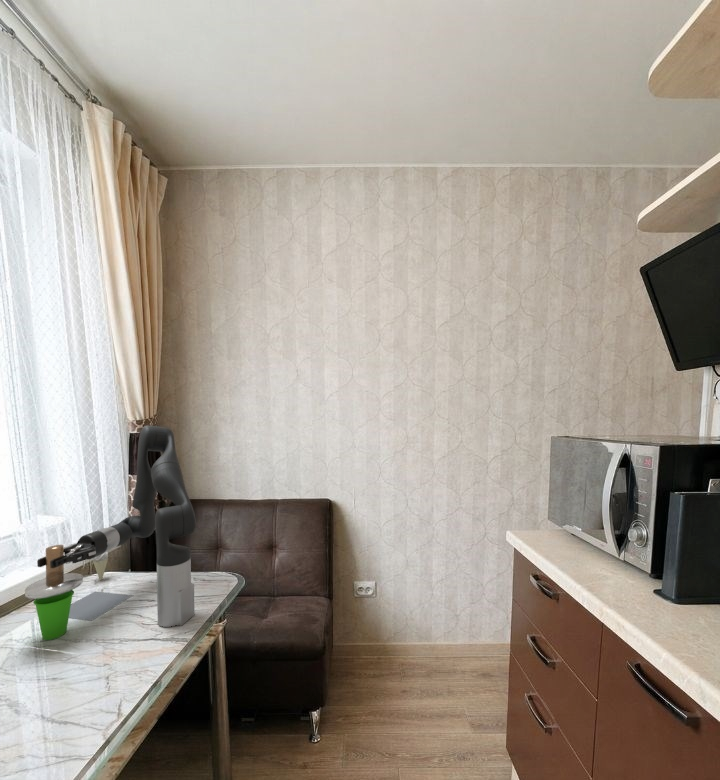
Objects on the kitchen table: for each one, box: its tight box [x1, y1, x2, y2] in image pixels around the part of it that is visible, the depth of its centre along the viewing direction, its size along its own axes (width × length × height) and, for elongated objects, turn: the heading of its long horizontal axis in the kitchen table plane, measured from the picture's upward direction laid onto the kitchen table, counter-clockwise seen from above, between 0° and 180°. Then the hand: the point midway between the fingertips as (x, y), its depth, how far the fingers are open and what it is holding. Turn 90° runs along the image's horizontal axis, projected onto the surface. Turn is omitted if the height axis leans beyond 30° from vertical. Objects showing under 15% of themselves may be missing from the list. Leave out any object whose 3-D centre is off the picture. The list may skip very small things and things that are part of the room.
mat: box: [68, 590, 134, 622], centre depth 128 cm, size 16×16×1 cm
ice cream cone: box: [91, 551, 109, 581], centre depth 147 cm, size 5×5×15 cm
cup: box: [33, 589, 75, 641], centre depth 112 cm, size 9×9×11 cm
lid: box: [24, 544, 84, 600], centre depth 113 cm, size 13×13×11 cm
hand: (45, 564), depth 110 cm, fingers closed on lid, 4 cm apart
